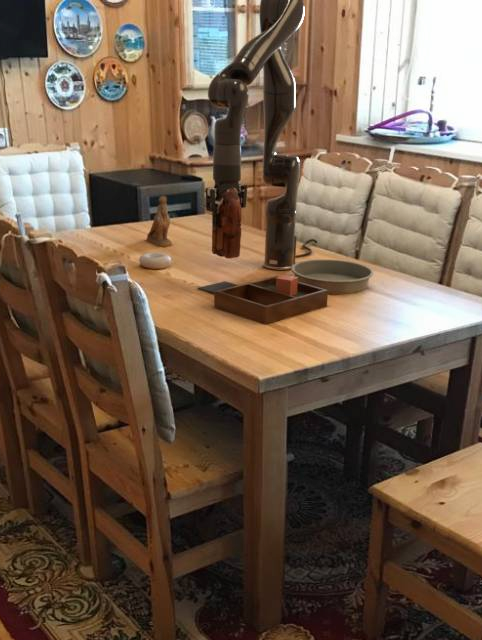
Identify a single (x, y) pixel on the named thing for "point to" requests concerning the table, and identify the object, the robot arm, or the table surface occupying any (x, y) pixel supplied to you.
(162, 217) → the worn brown figurine
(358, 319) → the table surface
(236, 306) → the walnut tray
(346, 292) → the cake pan
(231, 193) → the wooden figurine
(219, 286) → the rubber mat
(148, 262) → the donut
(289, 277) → the terracotta block
